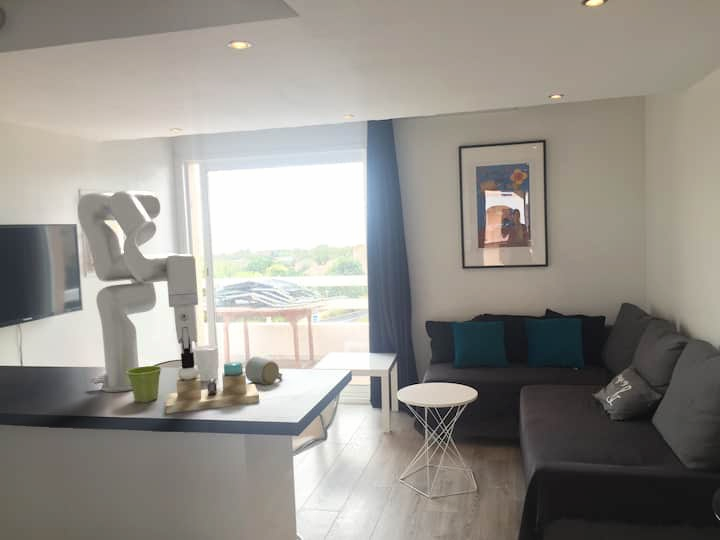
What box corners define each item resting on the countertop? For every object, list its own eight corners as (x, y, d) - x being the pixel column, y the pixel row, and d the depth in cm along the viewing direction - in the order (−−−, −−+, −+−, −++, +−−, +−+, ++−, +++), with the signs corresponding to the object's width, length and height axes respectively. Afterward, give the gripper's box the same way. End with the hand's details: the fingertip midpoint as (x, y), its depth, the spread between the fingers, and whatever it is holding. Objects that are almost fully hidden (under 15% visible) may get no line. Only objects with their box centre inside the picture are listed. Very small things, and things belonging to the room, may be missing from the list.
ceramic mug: (263, 387, 171) (262, 361, 171) (245, 383, 176) (243, 359, 176) (288, 379, 180) (287, 355, 179) (270, 376, 185) (269, 352, 184)
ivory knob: (179, 398, 154) (177, 370, 154) (180, 393, 159) (178, 366, 159) (199, 395, 156) (197, 368, 155) (199, 391, 160) (197, 364, 160)
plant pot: (128, 398, 166) (125, 368, 166) (162, 393, 170) (160, 364, 169) (129, 406, 158) (126, 375, 157) (165, 401, 162) (163, 370, 161)
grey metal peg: (208, 396, 158) (207, 381, 157) (207, 393, 160) (206, 379, 160) (217, 394, 158) (216, 380, 158) (216, 392, 161) (215, 378, 160)
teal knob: (225, 394, 158) (224, 367, 157) (224, 389, 162) (223, 363, 162) (244, 391, 159) (242, 365, 158) (243, 387, 164) (241, 361, 163)
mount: (166, 413, 150) (164, 387, 150) (168, 400, 162) (166, 376, 161) (259, 402, 157) (257, 376, 156) (254, 390, 168) (253, 366, 168)
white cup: (216, 381, 181) (214, 349, 180) (191, 382, 181) (189, 350, 180) (222, 375, 189) (220, 344, 188) (198, 376, 189) (196, 345, 188)
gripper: (198, 301, 149) (202, 372, 151) (197, 296, 164) (202, 360, 165) (167, 304, 147) (172, 375, 149) (169, 298, 162) (174, 363, 163)
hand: (188, 367), depth 157 cm, fingers closed
